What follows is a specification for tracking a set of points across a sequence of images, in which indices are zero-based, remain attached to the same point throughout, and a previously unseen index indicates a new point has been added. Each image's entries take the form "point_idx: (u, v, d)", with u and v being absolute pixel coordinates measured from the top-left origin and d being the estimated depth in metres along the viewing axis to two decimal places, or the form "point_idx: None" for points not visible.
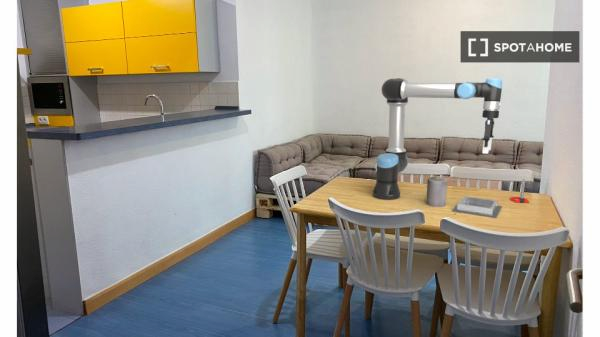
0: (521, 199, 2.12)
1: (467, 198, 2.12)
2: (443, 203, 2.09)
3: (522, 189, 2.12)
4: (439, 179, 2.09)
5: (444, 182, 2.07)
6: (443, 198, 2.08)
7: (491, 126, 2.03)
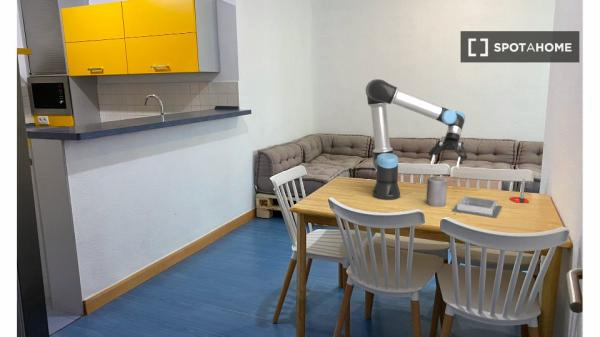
0: (521, 199, 2.12)
1: (467, 198, 2.12)
2: (443, 203, 2.09)
3: (522, 189, 2.12)
4: (439, 179, 2.09)
5: (444, 182, 2.07)
6: (443, 198, 2.08)
7: None
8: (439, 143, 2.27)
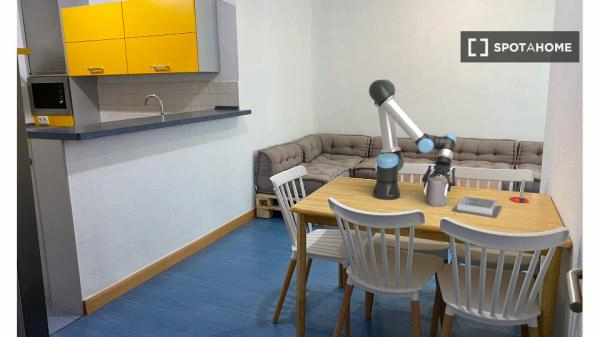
0: (521, 199, 2.12)
1: (467, 198, 2.12)
2: (443, 203, 2.09)
3: (522, 189, 2.12)
4: (439, 179, 2.09)
5: (444, 182, 2.06)
6: (443, 198, 2.08)
7: None
8: (430, 168, 2.18)
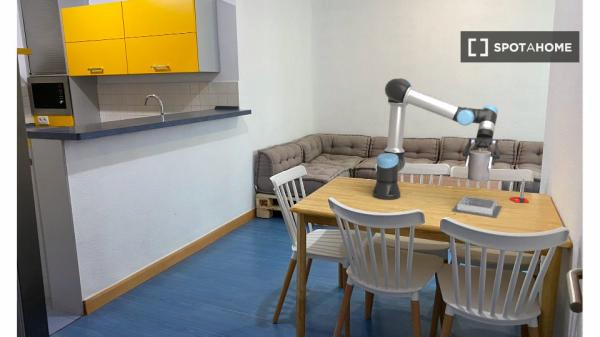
0: (521, 199, 2.12)
1: (467, 198, 2.12)
2: (487, 177, 1.96)
3: (522, 189, 2.12)
4: (482, 152, 1.96)
5: (488, 154, 1.94)
6: (487, 172, 1.96)
7: None
8: (471, 141, 2.05)
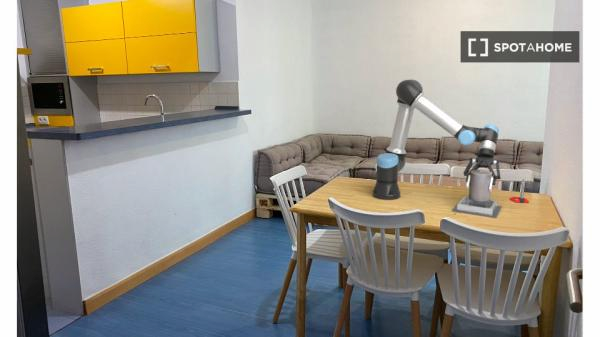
0: (521, 199, 2.12)
1: (467, 198, 2.12)
2: (488, 197, 1.98)
3: (522, 189, 2.12)
4: (483, 172, 1.98)
5: (489, 175, 1.95)
6: (488, 192, 1.97)
7: None
8: (472, 160, 2.07)
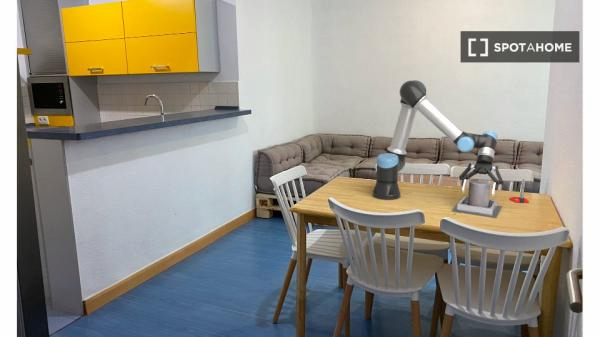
0: (521, 199, 2.12)
1: (467, 198, 2.12)
2: None
3: (522, 189, 2.12)
4: (482, 182, 1.99)
5: (488, 185, 1.96)
6: (486, 202, 1.98)
7: None
8: (470, 166, 2.08)
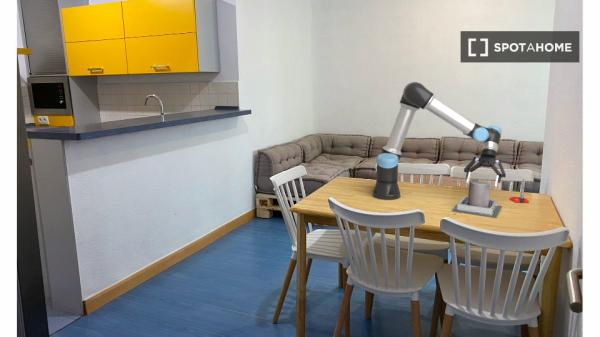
0: (521, 199, 2.12)
1: (467, 198, 2.12)
2: None
3: (522, 189, 2.12)
4: (482, 182, 1.99)
5: (488, 185, 1.96)
6: (486, 202, 1.98)
7: None
8: (475, 159, 2.19)
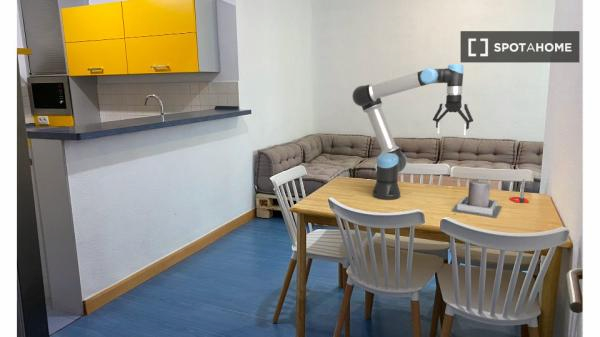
0: (521, 199, 2.12)
1: (467, 198, 2.12)
2: None
3: (522, 189, 2.12)
4: (482, 182, 1.99)
5: (488, 185, 1.96)
6: (486, 202, 1.98)
7: None
8: (441, 107, 2.18)
